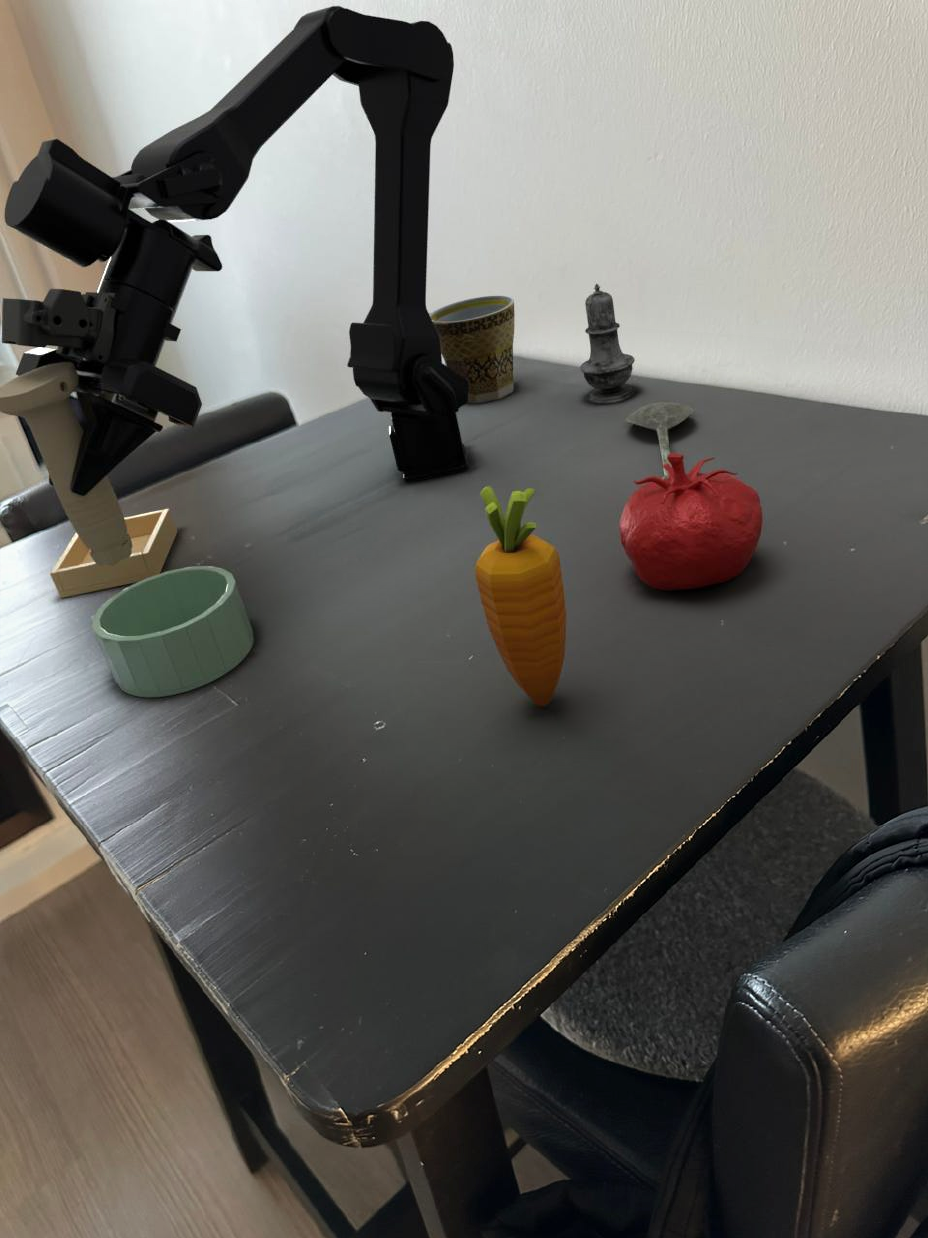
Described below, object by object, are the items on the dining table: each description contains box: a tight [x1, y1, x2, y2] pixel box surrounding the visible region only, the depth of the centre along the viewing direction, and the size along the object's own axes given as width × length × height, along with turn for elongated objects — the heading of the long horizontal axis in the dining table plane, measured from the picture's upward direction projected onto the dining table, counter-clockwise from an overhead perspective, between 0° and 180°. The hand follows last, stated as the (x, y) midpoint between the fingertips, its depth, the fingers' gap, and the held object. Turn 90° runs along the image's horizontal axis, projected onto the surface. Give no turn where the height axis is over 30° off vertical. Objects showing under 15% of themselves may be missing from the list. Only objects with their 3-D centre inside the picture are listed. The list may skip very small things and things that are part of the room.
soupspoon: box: [625, 401, 695, 479], centre depth 94 cm, size 22×3×7 cm
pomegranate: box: [618, 452, 763, 592], centre depth 73 cm, size 10×10×9 cm
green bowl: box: [91, 565, 255, 698], centre depth 78 cm, size 11×11×5 cm
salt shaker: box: [579, 283, 637, 405], centre depth 109 cm, size 6×6×12 cm
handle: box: [0, 362, 132, 566], centre depth 78 cm, size 5×6×15 cm
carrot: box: [474, 485, 567, 708], centre depth 61 cm, size 5×5×15 cm
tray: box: [49, 508, 178, 599], centre depth 97 cm, size 9×10×3 cm
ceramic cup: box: [428, 295, 516, 404], centre depth 119 cm, size 13×10×10 cm
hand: (65, 490), depth 78 cm, fingers closed on handle, 3 cm apart
